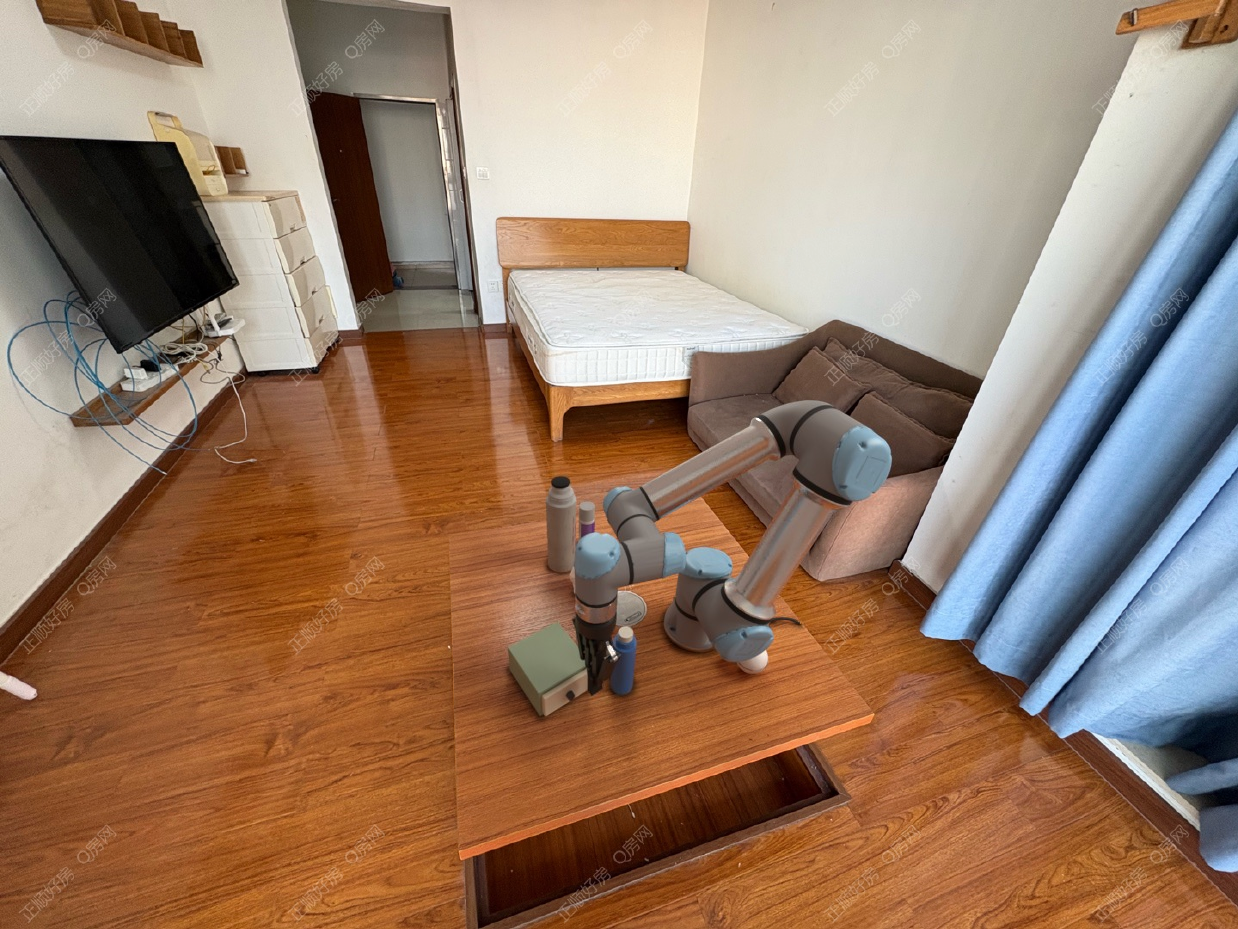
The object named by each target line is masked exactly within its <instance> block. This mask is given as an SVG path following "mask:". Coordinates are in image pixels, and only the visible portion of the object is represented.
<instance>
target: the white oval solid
mask: <svg viewBox="0 0 1238 929" xmlns="http://www.w3.org/2000/svg"><path fill="white" fill-rule="evenodd" d="M736 664H737V666H738V667H739V669H740V670H741V671H743V672H745V673H747V674H750V675H755V674H759V673H761V672H763V671H764V670H765V671H767V672H768V673H770V674H772V675H773V673H772V672H770V671H769V670H767V669H766V667H767V666H768V664H769V654H768V652H767V649H766V650H765V651H764V652H763V653H761V654H760V655H758V656H756V657H754V658H751V659H749V660H746V661H742V662H736Z"/></svg>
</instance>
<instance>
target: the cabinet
mask: <svg viewBox="0 0 1238 929" xmlns="http://www.w3.org/2000/svg"><path fill="white" fill-rule="evenodd" d="M507 656H508V667H509V671H510V673H511V674H512V675H513V677H514V679H515V681H516V682H517V683H518V685H519V686H520V688H521V690H522V691H523V693H524V694H525V695H526V697H527V699H528V700H529V702H530V704H531V705H532V706H533V708H534V709H535V711H536V712H537V714H538V716H539V717H541V716H543V715H544V714H543V709H542V694H543V693H545V692H547V691H548V690H550V689H552V688H553V687H555V686H557V685H558V684H560V683H562V682H563V681H565V680H567V679H568V678H570V677H572V676H573V675H575V674H576V673H578V672H580V671H581V670H582V671H583V670H584V669H586V667H585V660H583V661H582V660H581V658H580V654H579V648H578V644H577V643H576V642H575V641H574V640H573V639H572V638H571V636H570V634H568V632H567V631H566V630H565V629H564V627H563V626H562V625H561V624H560V623H559V621H555V622H553V623H551V624H550V625H547V626H546V627H543V628H542V629H540V630H538V631H536V632H534V633H532V634H530V635H528V636H527V637H524V638H523V639H521V640H519V641H517V642H515V643H513V644H511V645H509V646H508V647H507Z"/></svg>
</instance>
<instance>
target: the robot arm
mask: <svg viewBox="0 0 1238 929" xmlns="http://www.w3.org/2000/svg"><path fill="white" fill-rule="evenodd" d="M788 456H793V457H795V458H796V459H797V460H798V461H797V463H796V465H795V467H794V468H793V469H792V471H791V477H792V481H793V486H792V487H791V488H790V491H789V492H788V494H787V495H786V497H785V499H784V500H783V502H782V503H781V505H780V507H779V509H778V510H777V512H776V513H775V515H774V516H773V518H772V520H771V521H770V523H769V525H768V526H767V528H766V529H765V531H764V533H763V534H762V536H761V538H760V539H759V541H758V542H757V544H756V546H755V547H754V549H753V551H752V552H751V554H750V556H749V557H748V559H747V560H746V562H745V563H744V565H743V567H742V568H741V570H740V572H739V573H738V575H737V577H733V576H732V573H733V568H734V567H733V560H732V559H731V557H730V556H729V555H728V554H727V553H725V552H724V551H722V550H720V549H718V548H713V547H708V546H699V547H694V548H691V549H688V550H687V551H686V548H685V544H684V542H683V539H682V537H681V536H680V535H679V534H678V533H676V532H674V531H670V532H667V531H665V532H664V531H663V532H662V533H661V532H660V530H659V529H658V526H657V524H655V523H657V522H658V521H660V520H661V519H663V518H665V517H667V516H668V515H670V514H672V513H674V512H675V511H678V510H679V509H681V508H683V507H685V506H686V505H688V504H690V503H692V502H694V501H695V500H697V499H700V498H701V497H702V496H705V495H706V494H708V493H710V492H712V491H714V490H716V489H718V488H719V487H722V485H725V484H726V483H728V482H730V481H732V480H733V479H734V480H735V478H738V477H739V476H741V475H743V474H744V473H747V472H749V471H750V470H752V469H754V468H756V467H757V466H759V465H761V464H763V463H765V462H766V461H768V460H771V461H775V462H778V461H779V460H781V459H783V458H784V457H788ZM892 461H893V457H892V452H891V448H890V445H889V444H888V443H887V440H885V439H884V438H883V437H881V436H880V435H878V434H877V433H876V432H875V431H874V430H873V429H872V428H870V427H868V426H866V425H865V424H863V423H861V422H859V421H858V420H856V419H855V418H853V417H851V416H850V415H848V414H846V413H845V412H843V411H841V410H839V409H838V408H837V407H835V406H834V405H832V404H831V403H828V402H826V401H823V400H821V401H820V400H816V399H815V400H814V399H813V400H811V399H809V400H808V399H806V400H797V401H793V402H788V403H785V404H781V405H780V406H779V405H778V406H776V407H774V408H771V409H769V410H767V411H764V412H762V413H760V414H759V415H757V416H755V417H753V418H752V419H751V420H750V423H749V426H747V427H745V428H743V429H741V430H740V431H738V432H736V433H734V434H733V435H731V436H730V437H727V438H726V439H724V440H722V441H720V442H718V443H717V444H715V445H713V446H711V447H710V448H707V449H705V450H703V451H702V452H700V453H698V454H696V455H695V456H693V457H691V458H689V459H688V460H685V461H684V462H682V463H680V464H678V465H677V466H675V467H673V468H671V469H669V470H667V471H666V472H664V473H661V474H660V475H659V476H657V477H655V478H653V479H651V480H650V481H647V482H646V483H644V484H642V485H641V486H639V487H637V488H635V489H633V488H631V487H629V486H626V485H624V486H616V487H613V488H612V489H610V491H608V492H607V493H606V494H605V497H604V498H603V500H602V509H603V513H604V515H605V517H606V521H607V523H608V525H609V526H610V527H611V529H612V531H613V533H614V535H615V536H616V537H614V536H613V535H612V534H609V533H608V532H607V533H606V532H604V533H600V532H598V531H596V532H595V533H590V534H587V535H585V536H584V537H582V538H581V539H580V540H579V541H577V542H576V548H575V558H574V569H575V594H574V597H575V599H574V600H575V602H574V604H575V605H574V609H575V611H574V612H575V613H574V615H575V616H573V617H572V618H571V621H572V623H573V626H574V630H575V636H576V641H577V643H576V644H577V646H578V648H579V654H580V658H581V660H582V661H583V660H585V667H586V668H587V676H588V690H587V692H588V694H589V695H590V696H591V697H593V696H595V695H596V694H597V693H599V692H601V691H602V690H603V689H604V688H603V686H604V684H605V681H607V680H608V679H609V678H610V677H611V676H612V673H613V671H614V668H615V665H616V663H617V660H619V659H620V658H621V655H620V653H619V652H617V653H616V651H614V650H613V648H612V647H613V638H612V636H613V633H614V632H615V629H616V627H617V620H618V619H617V616H618V602H619V601H618V600H619V599H618V597H619V596H618V595H619V589H620V588H623V587H628V586H631V585H637V584H641V583H645V582H651V581H656V580H660V579H662V580H663V579H665V578H667V577H670V576H674V575H677V582H676V588H675V594H674V596H673V598H672V599H673V600H672V602H671V603H670V605H669V606H668V608H667V609H666V611H665V614H664V617H663V629H664V632H665V634H666V636H667V637H668V639H669V640H670V641H671V642H672V643H673V644H674V645H676V646H677V648H680V649H682V650H684V651H687V652H691V653H708V652H711V651H714V650H715V651H716V652H717V653H718V655H719V656H720V658H721V659H723V660H724V661H726V662H728V663H737V662H742V661H746V660H749V659H751V658H754V657H756V656H758V655H760V654H761V653H763V652H764V651H765V650H766V651H767V650H768V648H770V646H771V645H772V643H773V642H774V639H775V637H774V632H773V629H772V628H771V627H769V626H770V624H771V623H772V622H775V621H788V622H792V623H795V624H797V625H799V626H802V625H803V624H802V622H801V621H799V620H798V621H799V622H798V621H797V619H795V618H793V617H787V616H776V613H777V608H776V605H775V603H776V602H775V601H776V600H777V598H778V597H779V596H780V594H781V593H782V591H783V589H784V588H785V587H786V585H787V584H788V582H790V579H791V578H792V576H793V575H794V573H795V572H796V570H797V569H798V567H799V566H800V564H801V563H802V561H803V560H804V558H805V557H806V556H807V554H808V553H809V551H810V549H811V548H812V547H813V545H814V544H815V542H816V541H817V539H818V538H819V536H820V535H821V533H822V532H823V530H824V529H825V527H826V526H827V525H828V523H829V521H830V520H831V518H832V517H833V515H834V514H835V513H836V511H837V510H838V509H842V508H848V507H850V506H851V505H852V503H853V502H861V501H864V500H867V499H869V498H870V497H871V495H872V494H875V493H877V492H878V491H879V490H880V489H881V487H882V486H883V485H884V484H885V482H886V480H887V478H888V476H889V474H890V471H891V468H892V463H893V462H892ZM775 616H776V617H775ZM800 622H801V624H802V625H801V624H800Z"/></svg>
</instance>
